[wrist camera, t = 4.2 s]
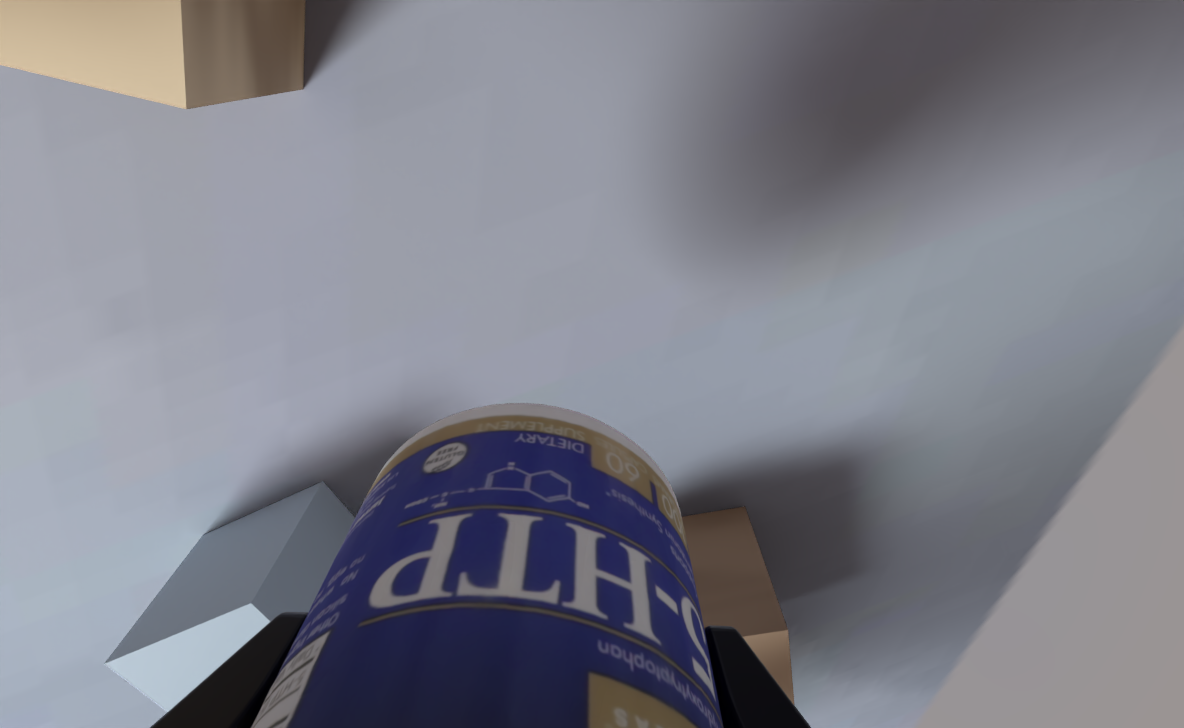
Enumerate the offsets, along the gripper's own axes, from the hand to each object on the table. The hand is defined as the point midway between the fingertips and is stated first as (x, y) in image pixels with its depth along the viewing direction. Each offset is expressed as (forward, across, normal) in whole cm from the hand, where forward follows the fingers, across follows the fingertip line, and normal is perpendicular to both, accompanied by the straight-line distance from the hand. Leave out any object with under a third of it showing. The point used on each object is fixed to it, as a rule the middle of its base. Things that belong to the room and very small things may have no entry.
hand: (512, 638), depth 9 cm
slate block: (+10, +8, +9) cm, 16 cm away
